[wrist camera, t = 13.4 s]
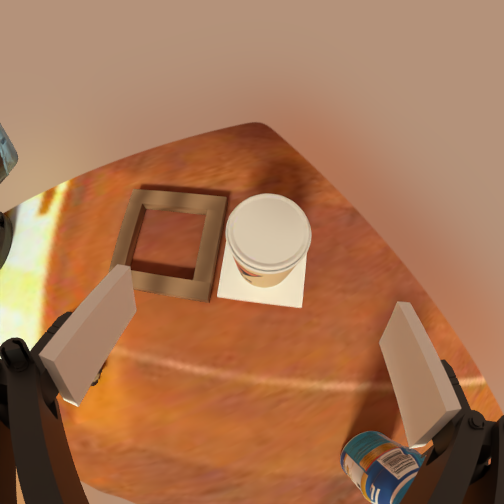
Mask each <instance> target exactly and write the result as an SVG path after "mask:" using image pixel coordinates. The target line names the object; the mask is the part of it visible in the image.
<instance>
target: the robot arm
mask: <svg viewBox="0 0 504 504" xmlns="http://www.w3.org/2000/svg"><path fill="white" fill-rule="evenodd" d="M17 161H18V155H17V152H16V150H15V148H14V146H13V144H12V143H11V141H10V139H9V137H8V135H7V134H6V132H5V130H4V129H3V127H2V125H1V124H0V183H1V182H2V181H3V180H4V179H5V178H6V177H7V176H8V175H9V172H10V171H11V170H12V168H13V167H14V166H15V165H16V163H17ZM11 239H12V225H11V222H10V219H9V218H8V217H7V216H6V215H5V214H3V213H2V212H0V269H1V267H2V265H3V264H4V262H5V260H6V257H7V255H8V252H9V249H10V245H11ZM135 313H136V304H135V298H134V291H133V284H132V276H131V268H130V266H125V265H119V264H117V265H116V266H115V267H114V268H113V269H112V270H111V271H110V272H109V273H108V274H107V276H106V277H105V278H104V279H103V280H102V281H101V282H100V283H99V284H98V285H97V286H96V287H95V289H94V290H93V291H92V292H91V293H90V294H89V295H88V296H87V297H86V299H85V300H84V301H83V302H82V303H81V304H80V305H79V306H78V308H77V309H76V310H75V311H74V312H73V313H71V312H66V313H65V314H63V315H61V316H60V317H58V318H57V320H56V321H55V322H54V323H53V324H52V326H51V327H50V328H49V329H48V330H47V332H45V334H44V335H43V336H42V337H41V338H40V340H39V341H38V342H37V343H36V344H35V346H34V347H33V348H32V349H31V351H29V349H28V347H27V345H26V343H25V341H24V340H23V339H21V338H11V339H8V340H6V341H5V342H4V343H3V344H2V345H1V346H0V356H1V358H2V359H0V504H17V497H16V469H17V473H18V478H19V482H20V486H21V490H22V493H23V497H24V501H25V504H89V502H88V500H87V498H86V495H85V493H84V490H83V487H82V485H81V482H80V479H79V477H78V474H77V471H76V468H75V465H74V462H73V459H72V456H71V452H70V449H69V446H68V442H67V439H66V435H65V431H64V427H63V423H62V419H61V414H60V409H59V405H58V401H57V399H56V396H57V395H58V393H60V394H61V396H62V398H63V399H64V400H65V401H67V402H69V403H71V404H74V405H76V406H78V407H79V405H80V403H81V401H82V400H83V398H84V396H85V394H86V393H87V391H88V389H89V387H90V386H91V384H92V382H93V380H94V379H95V377H96V375H97V374H98V372H99V370H100V369H101V367H102V365H103V364H104V362H105V360H106V359H107V357H108V355H109V354H110V352H111V350H112V349H113V347H114V346H115V344H116V342H117V341H118V339H119V338H120V336H121V334H122V333H123V331H124V330H125V328H126V326H127V325H128V323H129V322H130V320H131V319H132V317H133V316H134V314H135ZM379 344H380V347H381V350H382V353H383V356H384V359H385V362H386V366H387V369H388V372H389V375H390V378H391V382H392V385H393V388H394V392H395V395H396V399H397V402H398V406H399V409H400V413H401V417H402V420H403V424H404V428H405V432H406V436H407V441H408V445H409V449H411V448H416V447H422V446H425V445H426V444H427V443H428V442H429V441H430V440H431V439H432V441H433V444H434V445H433V446H431V447H430V448H429V449H428V450H427V451H426V452H425V453H423V454H422V456H421V457H420V458H423V457H424V456H425V455H426V457H425V459H424V461H423V463H422V465H421V467H420V469H419V471H418V473H417V475H416V476H415V478H414V480H413V482H412V484H411V485H410V487H409V489H408V490H407V492H406V494H405V495H404V497H403V498H402V500H401V502H400V503H399V504H504V415H503V416H502V417H501V418H500V419H499V420H498V421H497V422H493V421H486V420H485V418H484V417H483V415H482V414H481V413H479V412H478V411H475V410H471V409H470V406H469V404H468V402H467V399H466V397H465V395H464V392H463V390H462V388H461V386H460V385H459V381H458V379H457V378H456V375H455V373H454V371H453V369H452V367H451V366H450V365H449V364H448V363H447V362H446V361H445V360H440V359H439V357H438V354H437V352H436V350H435V348H434V346H433V344H432V342H431V341H430V339H429V337H428V335H427V333H426V331H425V329H424V327H423V325H422V323H421V322H420V320H419V318H418V316H417V314H416V312H415V311H414V309H413V307H412V305H411V304H410V302H398V301H397V303H396V306H395V308H394V311H393V313H392V315H391V317H390V320H389V322H388V324H387V326H386V329H385V331H384V333H383V335H382V337H381V339H380V341H379ZM490 458H491V464H490V465H488V460H489V459H490Z"/></svg>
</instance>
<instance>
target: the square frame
mask: <svg viewBox="0 0 504 504" xmlns="http://www.w3.org/2000/svg"><path fill="white" fill-rule="evenodd" d="M227 204H228V202H227V197H222V196H212V195H202V194H191V193H180V192H168V191H155V190H140V189H133V192H132V195H131V198H130V201H129V204H128V207H127V210H126V213H125V216H124V219H123V222H122V226H121V229H120V232H119V236H118V239H117V243H116V246H115V250H114V253H113V257H112V261H111V265H110V269H109V272H110V271H111V270H112V269H113V268H114V267H115V266H116V265H117V264H119V265H125V266H130V265H131V261H132V257H133V253H134V250H135V246H136V242H137V238H138V235H139V231H140V228H141V224H142V221H143V217H144V214H145V211H146V209H153V210H163V211H173V212H183V213H192V214H201V215H206V219H205V224H204V228H203V233H202V238H201V243H200V247H199V252H198V257H197V262H196V267H195V273H194V278H193V280H188V279H182V278H175V277H169V276H163V275H157V274H151V273H145V272H139V271H133V270H131V276H132V284H133V289H134V290H139V291H144V292H149V293H155V294H160V295H166V296H171V297H177V298H183V299H189V300H195V301H201V302H207V303H210V297H211V291H212V285H213V279H214V274H215V268H216V262H217V257H218V251H219V246H220V240H221V235H222V230H223V225H224V219H225V214H226V209H227Z"/></svg>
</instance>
